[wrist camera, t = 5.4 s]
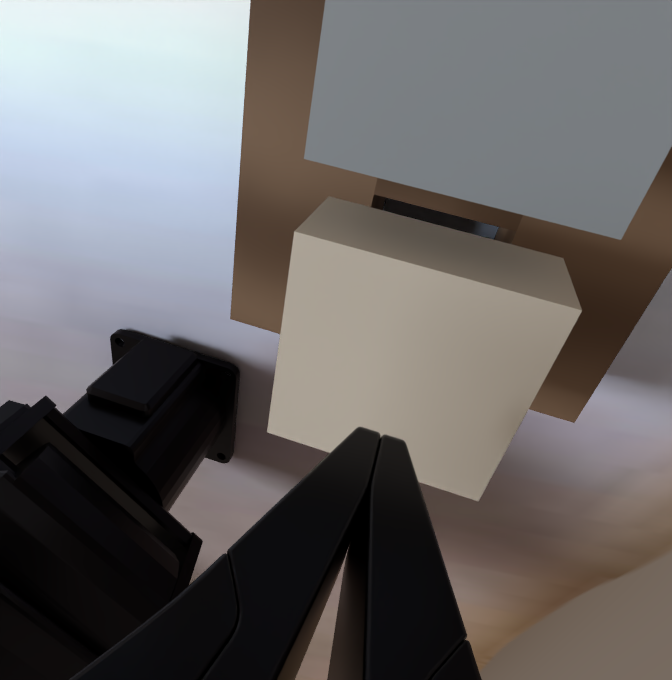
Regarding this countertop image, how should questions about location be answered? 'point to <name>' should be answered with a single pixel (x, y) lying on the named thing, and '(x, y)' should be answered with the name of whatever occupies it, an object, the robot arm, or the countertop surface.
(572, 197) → the slate key
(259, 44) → the key block
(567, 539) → the countertop surface
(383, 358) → the cream key
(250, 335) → the countertop surface
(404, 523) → the robot arm
